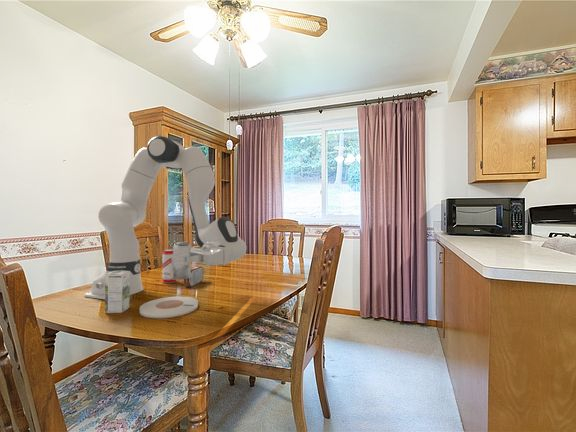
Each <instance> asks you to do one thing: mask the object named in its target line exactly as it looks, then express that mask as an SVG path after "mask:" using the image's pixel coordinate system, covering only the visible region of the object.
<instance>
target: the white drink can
mask: <svg viewBox="0 0 576 432" xmlns="http://www.w3.org/2000/svg"><path fill="white" fill-rule="evenodd" d="M191 248H192V247H191V244H189V242H188V241H177V242H176V241H175V244H174V245H173V246H172V249H173V278H174V279H176V281H177V280H180V281H181V280H184V279H188V278H190V277H191V268H192V265H191V263H192V262H185V257H187V256H191Z"/></svg>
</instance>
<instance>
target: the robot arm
mask: <svg viewBox="0 0 576 432" xmlns="http://www.w3.org/2000/svg"><path fill="white" fill-rule="evenodd" d="M211 166H212V165H211V163H210V162H209V160H208V157H206V155H205V153H204V152H203V150H202V149H201V148H200V147H198V146H188V147H185V146H183V145H182V144H181V143H179V142H178V141H175V140H172V139H171V138H170V137H167V136H162V135H156V136H153V137H152V138H151V139H149V141H148V143H147V146H146V147H142V148H140V149H139V150H138V151H137V153H136V154H135V156H134V157H133V159H132V161H131V162H130V164H129V167H128V169H127V171H126V174H125V175H124V178H123V180H122V182H121V190H122V193H121V198H120V201H114V202H110V203H107V204H104V205H103V206H102V207H101V208H100V209H99V211H98V216H97V217H98V220H99V223H101V225H102V226H103V227H104V230H105V232H106V233H105V234H106V236H107V239H108V246H109V262H107V263H105V264H104V265H103V267H106V269H105V271H104V272H102V273H101V274H100V275H98V276H97V277H96V278H95V279H93V280H92V283H91V290H90V291H87V292H85V293H84V297H86V298H90V299H91V298H92V299H98V300H99V299H100V300H105V275H106V274H108V273H110V272H113V271H119V270H123V271H130V296H132V295H134V294H136V293H139V292H142V291H143V290H144V287H143V283H142V277H141V266H142V265H141V263H142V262H141V259H140V241H139V239H138V238H137V236H136V232H135V229H134V228H135V227H137V226H139V225H140V224H142V223H143V222H144V221H145V220H146V215H147V212H146V209H147V204H148V199H149V196H150V192H151V191H152V188H153V187H154V184H155V181H156V179H157V177H158V174H159V172H160V170H161V169H163V168H166V169H169V170H176V171H177V170H179V171H181V170H182V172H183V174H184V177H185V180H186V183H187V184H186V185H187V190H188V195H187V200H188V205H189V209H190V213H191V218H192V221H193V225H194V231H195V234H194V235H195V241H196V244H197V245H198V247H200V248H198V247H191V256H187V257H185V262H191V263H198V264H204V265H205V266H207V267H212V266H227V265H228V263H233V262H236V261H239V260H241V259H242V258H243V257H245V254H246V252H247V248H248V247H247V244H246V242H245V241H244V240H243V239H242V238H241V237H240V236H239V234H238V229H237V226H236V224H235V223H234V221H233V220H232V219H230V218H229V217H226V216H221V217H219V218H217V219H215V220H213V221H212V222H211V223H209V222H210V221H209V218H208V214H207V209H206V202H207V200H208V197H209V195H210V194H211V192H212V191H213V189H214V187H215V184H216V178H215V174H214V171H213V169H212V167H211ZM172 259H173V255H172Z"/></svg>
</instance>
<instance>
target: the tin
mask: <svg viewBox="0 0 576 432" xmlns="http://www.w3.org/2000/svg"><path fill="white" fill-rule="evenodd" d="M204 273H205V271H204V267H203V266H201V265H195V266H191V277H190V278H188V279H183V285H184V286H185V287H190V288H191V287H194V286H196V285H199V284H200V283H201V282H202V281H203V279H204Z"/></svg>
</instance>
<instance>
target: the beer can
mask: <svg viewBox="0 0 576 432" xmlns="http://www.w3.org/2000/svg"><path fill="white" fill-rule="evenodd" d="M161 254H162V255H161V257H162V259H161V260H162V282H163V283H164V284H166V285H167V284H175V282H177V279H174V278H173V259H172V255H173V248H169V249H167V248H166V249H163V252H162V253H161Z"/></svg>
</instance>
